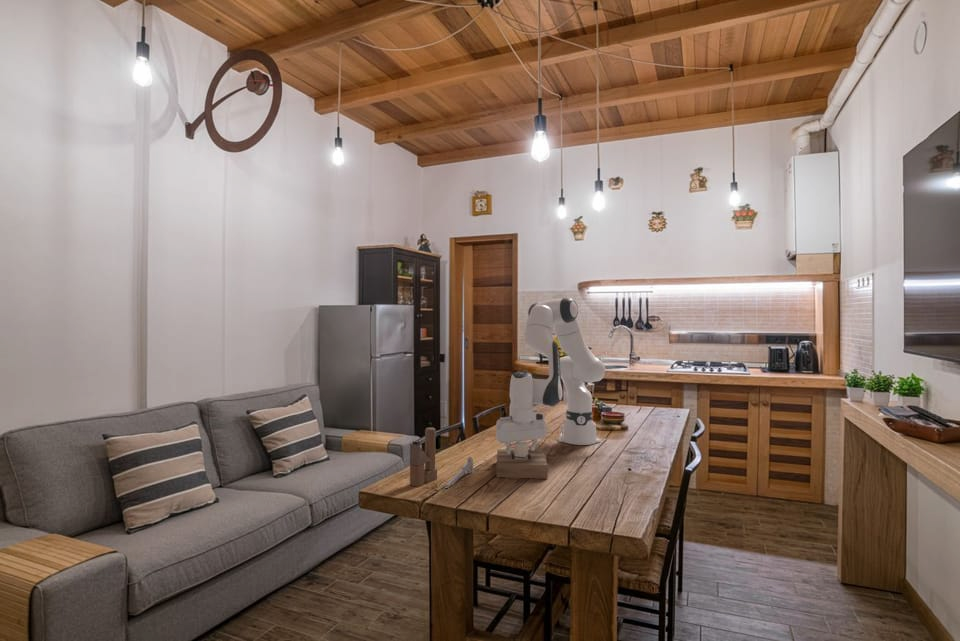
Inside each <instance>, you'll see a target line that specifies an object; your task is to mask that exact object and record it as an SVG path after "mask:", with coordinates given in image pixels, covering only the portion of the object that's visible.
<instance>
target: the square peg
mask: <svg viewBox="0 0 960 641" xmlns="http://www.w3.org/2000/svg"><path fill="white" fill-rule="evenodd" d="M513 446H514V448H513V450H514V459H528V450H529V442H524V441H517V442H516V443H515V442H514V444H513Z"/></svg>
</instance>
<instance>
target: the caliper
mask: <svg viewBox="0 0 960 641" xmlns="http://www.w3.org/2000/svg"><path fill="white" fill-rule="evenodd" d="M471 472H473V473H474V460H473V459H472V456H469V457H468V458H467V461H466V462H465V463H464V464H463V466H461V469H460V470H459V471H458V472H457V473H456V474H455V475H454V476H452V478H451V479H450V480H449V481H448V482H447V483H446V484H445V487H444V488H448V487H450V486H451V485H452V486H453V485H454V484H456V482H457V481H458V480H459V479H460V478H461V477H462V476H463V475H466V474H468V473H469V474H468V475H471V474H472V473H471ZM470 473H471V474H470ZM452 486H451V487H452ZM451 487H450V488H451ZM448 489H449V488H448Z"/></svg>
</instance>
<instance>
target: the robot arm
mask: <svg viewBox="0 0 960 641" xmlns="http://www.w3.org/2000/svg"><path fill="white" fill-rule="evenodd" d="M578 308H579V307H578V304H577V302H576V301H575V300H574V299H573V298H570V297H562V298H552V299H546V300H544V301H540V302H539V301H537V302H535V303H533V304H531V305H530V307H529V308H528V311H527V312H528V313H527V314H528V315H527V317H528V318H527V320H526V324H525V330H524V342H525V344H526V346H527V347H528V348H529V349H530V350H532V351H533V352H535V353H537V354H539V355H541V356H543V357H546V358H547V359H548V377H547V379H546V378H545V379H544V378H534V377H533V376H532V373H531V372H530V371H526V370H521V371H515V372H513V373H512V374H511V378H510V384H509V399H510V404H509V416H504V417H503V416H502V417H499V418H498V419H497V420H496V423H495V425H496V430H495V440H496V441H497V443H499V444H504V446H505V448H506V449H507V453H508V454H513V450H514V448H511V444H512V443H515V442H516V443H517V442H524V441H531V445H528V450H529V451H535V450H536V446H537V444H538V440H542V439H545V438H546V436H547V423H546V421H545V418H546V414H544V413H542V412H539V411H536V410H534V405H544V406H549V407H555V406H557V405H558V404H559V403H560V402H561V401H562V400H563V399H562V398H563V388H562V382H563V385H564V388H565V391H566V401H567V402H566V412H565V418H566V419H565V421H564V422H563V423H562V424H561V426H560V431H561V432H560V435H559V436H558V440H557V441H558V442H561V443H566V444H569V445H575V446H576V445H577V446H589V445H594V444H596V443H600V442H601V439H599V437H597V424H596V423H595V422H594V421H593V419H594V412H593V410H592V409H593V408H592V407H593V406H592V405H593V404H592V403H593V399H592V398H593V396H592V393H591V391H589V390H588V389H587V387H586V386H585V382H586V383H593V382H600V381H601V380H603V378H604V376H605V373H606V366H605V364H604V362H603V360H600V359H599V358H598V357H596V355H594V353H593V352H592V351H591V350H590V347H588V345H587V343H586V341H585V339H584V335H583V332H582V329H581V325H580V322H579V320H578V318H577V317H578V314H579V309H578ZM553 331H554V332H555V334H556V337H557V342H558V343H557V342H556V341H555V340H554V339H553ZM558 344H559V345H558ZM559 347H560V349H561V351H562V352H563V353H564V354H566V355H567V356H560V349H559Z"/></svg>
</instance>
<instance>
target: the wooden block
mask: <svg viewBox="0 0 960 641" xmlns="http://www.w3.org/2000/svg"><path fill="white" fill-rule="evenodd" d="M436 479H438V469H437V468H436V428H435V427H432V426H431V427H426V428H425V429H424V450H423V449H422V448H421V447H420V446H419V445H418V444H415V443H414V444H413V443H410V444H409V484H410V486H411V485H412V487H416V488H418V487H421V486H423V485H425V484H426V483H430V482H432V481H434V480H436Z"/></svg>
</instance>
